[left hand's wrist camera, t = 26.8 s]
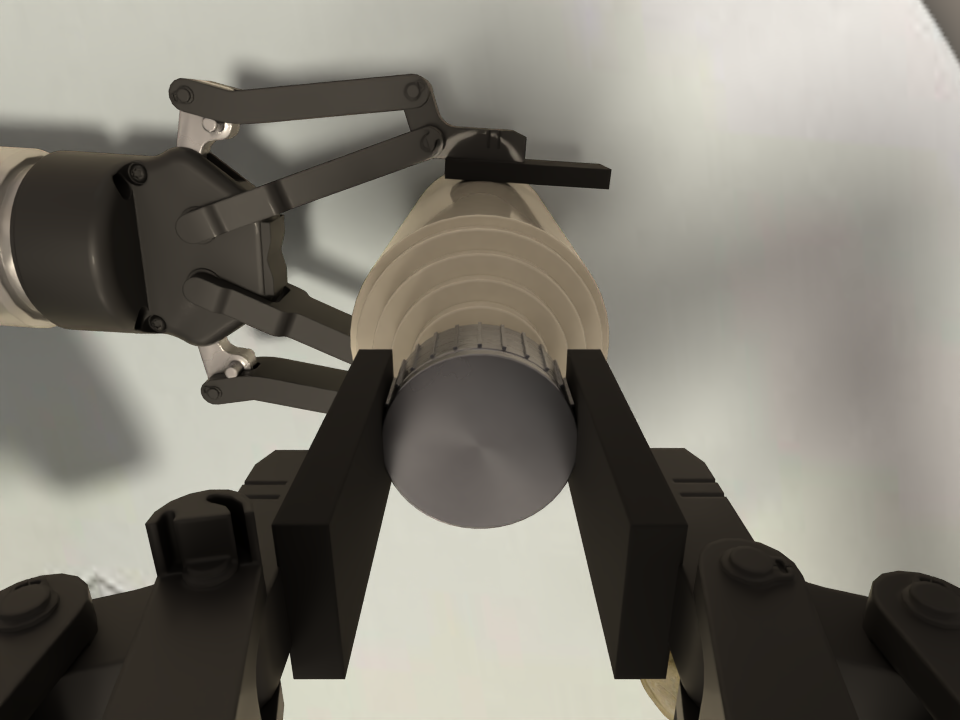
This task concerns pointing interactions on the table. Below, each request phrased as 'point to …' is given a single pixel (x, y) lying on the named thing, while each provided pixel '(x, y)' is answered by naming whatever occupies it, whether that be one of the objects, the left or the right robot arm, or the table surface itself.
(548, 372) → the cap
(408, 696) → the table surface
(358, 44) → the table surface
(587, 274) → the bottle
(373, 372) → the left robot arm
